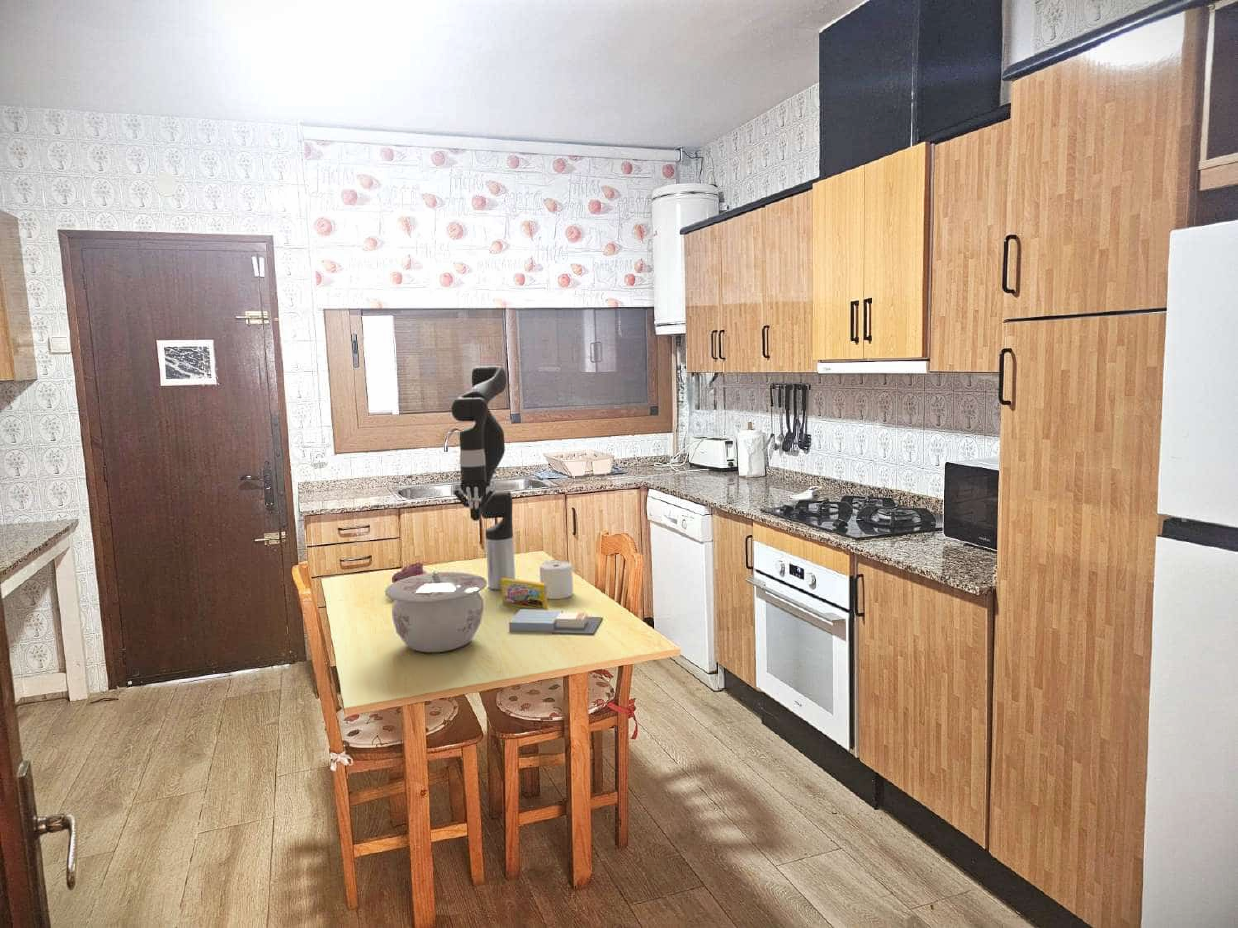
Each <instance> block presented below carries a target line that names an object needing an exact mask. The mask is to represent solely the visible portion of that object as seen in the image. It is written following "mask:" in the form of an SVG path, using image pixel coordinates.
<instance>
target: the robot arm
mask: <svg viewBox="0 0 1238 928" xmlns="http://www.w3.org/2000/svg"><path fill="white" fill-rule="evenodd" d="M471 385H472V386H471V387H470V389H469V390H468V391H467V393H463V394H462V395H459V396H458V397H456V399H455V400H454V401H453V403H452V405H451V414H452V417H453V418H454V420H456V421H458V422H461V423H462V422H475V423H474V426H473V427H470V428H467V429H463V430H460V432H459V449H460V451H459V453H460V454H459V465H460V467H459V468H460V480H461V481H460V484H459V487H458V488H457V489H456V490H454V491H453V495H455V497H456V498H457V499H458V501H459V502H460V503H461V505H463V507H467V508H469V509H470V519H472V521H473V522H479V520H480V519H481V518H482V519H498V518H501V519H500V521H499V522H498V523H497V524H495V525H492V526H490V527H488V528H487V529H486V530H485V546H486V566H487V567H486V569H487V587H488V588H489V589H490V590H499V591H500V590H502V587H501V579H503V578H509V579H516V572H515V571H516V569H515V550H514V533H513V531H514V529H513V495H512V493H511V491H510V490H509V489H508V490H507V489H506V490H505V489H504V490H503V489H502V490H500V489H499V490H495V489H494V488H491V487H490V484H491V481H492V478H493V476H494V473H495V472H496V470H497V468H498V467H499V465H500V463H501V461H502V459H503V458H504V455H505V450H506V448H505V433H504V429H503V428H502V425H500V423H499V422H498V421H497V419H496V417H494V415H493V414H492V413H491V411H490V409H489V406H488V404H489V403H490V401H492V400H493V399H494V398H495V397H496V396H499V395H500V394H501V393H503V392H504V391H505V389H506V386H507V374H506V371H505V369H504V368H503V367H502V366H500V365H485V366H475V367H473V368H472V371H471Z"/></svg>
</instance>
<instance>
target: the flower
mask: <svg viewBox="0 0 1238 928" xmlns="http://www.w3.org/2000/svg"><path fill="white" fill-rule="evenodd" d="M423 568H424V562H420V561H419V562H416V563H412V564H409V565H408V566H404V567H403V568H402V569H400V571H397V572H396V573H394V574H393V575H392V577H391V581H392V584H393V583H395V582H397V581H399V580H402V579H406V578H409V577H412V576H417V575H422V574H428V573H427V571H425V570H423Z"/></svg>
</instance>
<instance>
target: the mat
mask: <svg viewBox="0 0 1238 928" xmlns="http://www.w3.org/2000/svg"><path fill="white" fill-rule="evenodd" d="M601 620H602V621H603V616H587V622H586V624H585V626H584V627H583V628H570V627H555V629H554V630H553V631H552V632H551V634H553V635H555V634H556V635H581V634H582V635H583V634H587V636H589V635H590V636H594V635H595V634H596V632H597V630H598V628H599V626H600V624H601V623H602V621H601ZM600 622H601V623H600ZM596 629H597V630H596ZM595 631H596V632H595Z"/></svg>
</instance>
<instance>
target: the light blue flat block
mask: <svg viewBox="0 0 1238 928" xmlns="http://www.w3.org/2000/svg"><path fill="white" fill-rule="evenodd" d="M560 613H564V611H563V609H545V610H543V609H532V608H530V609H528V608H527V609H524V608H523V609H519V610H518V611H517V613H516V614H515V615H514V616H513V617H512V618H511V619H510V621H508V629H509V631H511V632H543V633H544V632H545V633H546V632H547V633H548V632H550V633H552V631H553V630H554V629H555V627H556V618H557V616H558V615H559V614H560Z"/></svg>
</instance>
